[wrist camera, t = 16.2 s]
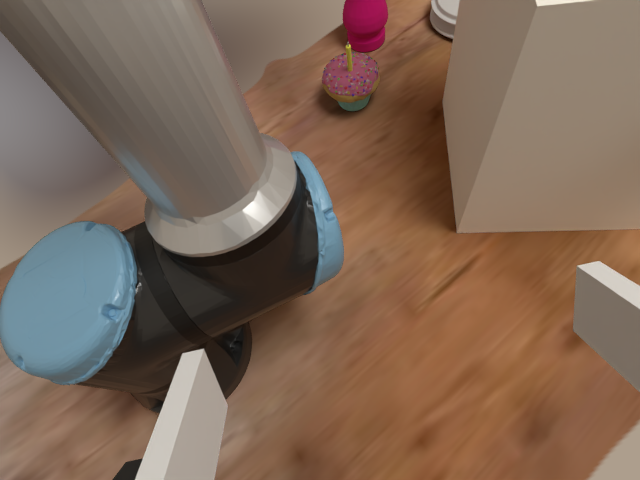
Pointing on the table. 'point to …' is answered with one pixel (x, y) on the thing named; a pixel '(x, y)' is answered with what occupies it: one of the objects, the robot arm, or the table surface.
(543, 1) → the plinth
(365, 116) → the table surface
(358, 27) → the pepper mill
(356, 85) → the cupcake
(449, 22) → the lid
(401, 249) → the table surface
